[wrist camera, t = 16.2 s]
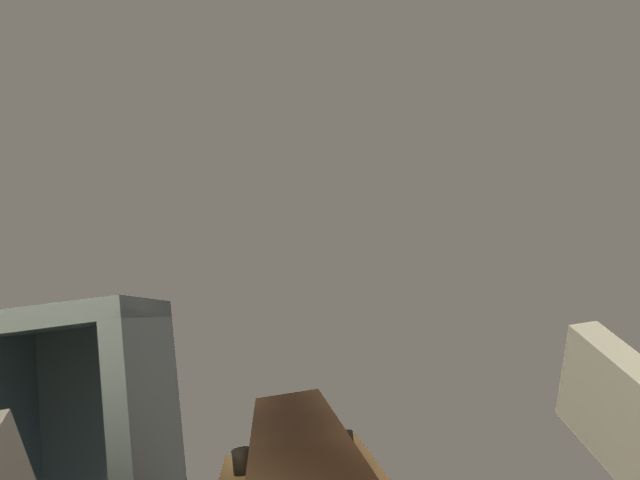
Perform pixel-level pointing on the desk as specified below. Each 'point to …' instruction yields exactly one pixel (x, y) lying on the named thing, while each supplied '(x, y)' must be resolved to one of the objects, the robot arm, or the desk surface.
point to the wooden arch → (237, 462)
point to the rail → (302, 441)
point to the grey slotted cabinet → (94, 388)
